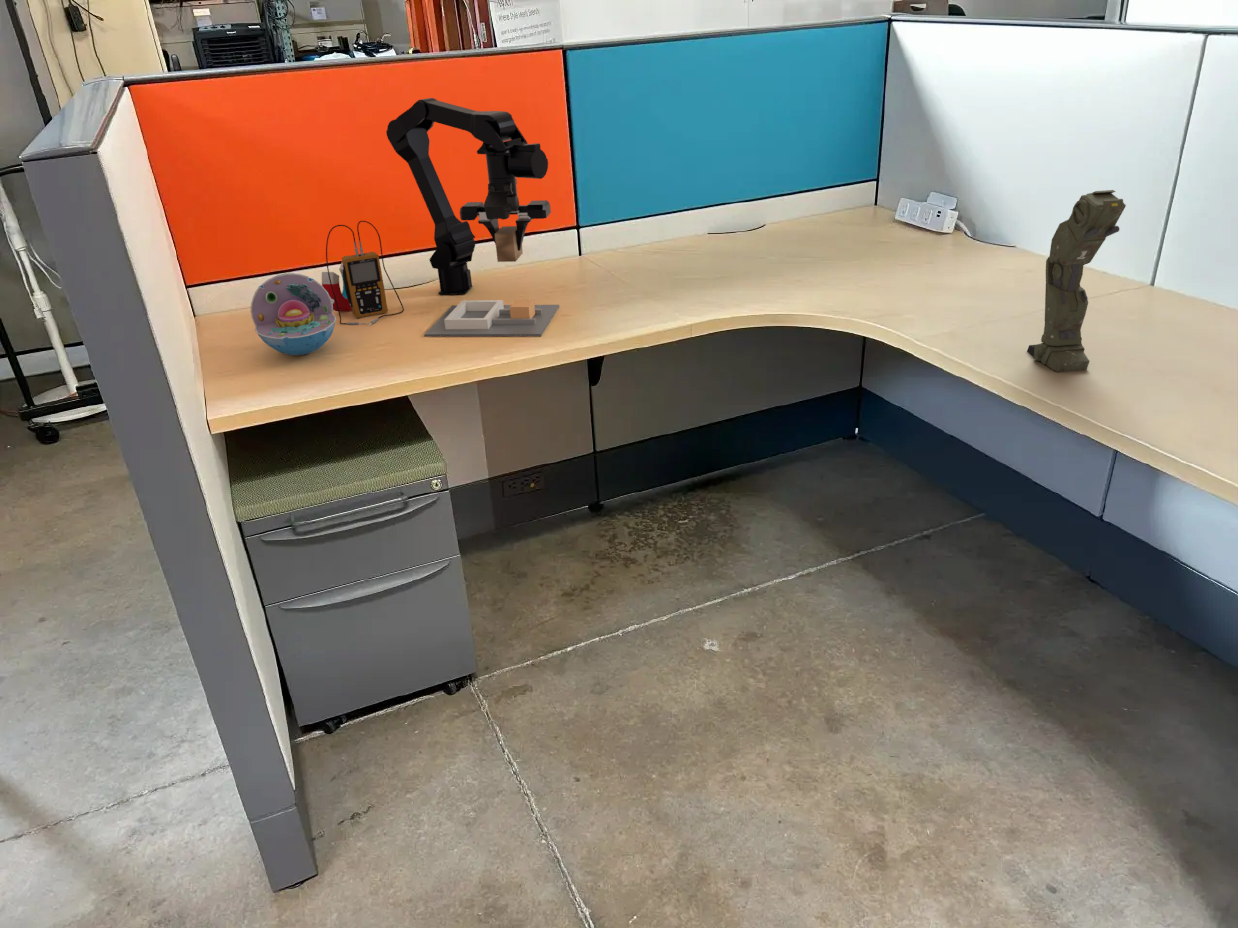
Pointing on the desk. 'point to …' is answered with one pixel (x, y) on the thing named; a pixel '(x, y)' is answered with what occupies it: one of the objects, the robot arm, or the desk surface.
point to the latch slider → (522, 309)
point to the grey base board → (490, 320)
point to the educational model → (293, 314)
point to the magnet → (336, 290)
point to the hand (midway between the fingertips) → (509, 250)
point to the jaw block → (507, 244)
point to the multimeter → (363, 282)
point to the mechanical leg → (1073, 279)
